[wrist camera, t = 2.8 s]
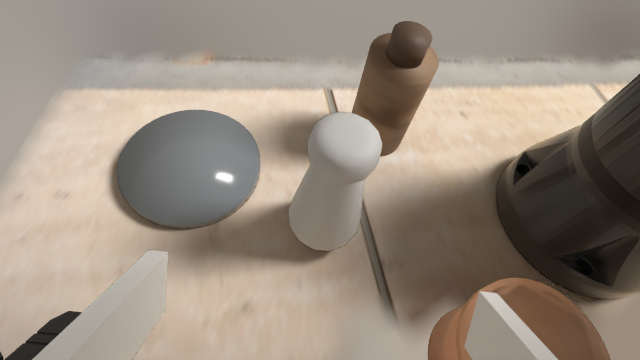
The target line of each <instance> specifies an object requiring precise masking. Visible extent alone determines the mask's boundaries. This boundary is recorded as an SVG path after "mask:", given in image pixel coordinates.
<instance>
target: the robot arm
mask: <svg viewBox="0 0 640 360" xmlns="http://www.w3.org/2000/svg"><path fill="white" fill-rule="evenodd" d="M497 206H498V211H499V215H500V218H501V221H502V223H503V225H504V228H505V230H506V232H507V234H508V235H509V237H510V239H511V240H512V242H513V243H514V245H515V246H516V247H517V249H518V250H519V251H520V252H521V254H522V255H523V256H524V257H525V258H526V259H527V260H528V261H529V262H530V263H531V264H532V265H533V266H534V267H535V268H536V269H537V270H539V271H540V272H541V273H542V274H544V275H545V276H546V277H548V278H549V279H551V280H552V281H554V282H555V283H557V284H559V285H561V286H563V287H564V288H567V289H569V290H571V291H573V292H576V293H578V294H581V295H584V296H588V297H593V298H599V299H619V298H624V297H628V296H631V295H634V294H638V293H640V74H639V75H638V76H637V77H636V78H635V79H634V80H632V81H631V82H630V83H629V84H628V85H627V86H626V87H624V88H623V89H622V90H621V91H620V92H619V93H617V94H616V95H615V96H614V97H613V98H612V99H610V100H609V101H608V102H607V103H606V104H605V105H603V106H602V107H601V108H600V109H599V110H598V111H597V112H596V113H595V114H594V115H592V116H591V117H590V118H589V119H588V120H587V121H585V122H584V123H583V124H582V125H580V126H577V127H575V128H573V129H570V130H568V131H566V132H563V133H561V134H559V135H556V136H554V137H552V138H549V139H547V140H545V141H542V142H540V143H538V144H535V145H533V146H531V147H529V148H528V149H526V150H525V151H523V152H522V153H521V154H519V155H518V156H517V157H516V158H515V159H514V160H513V161H512V162H511V163H510V164H509V165H508V166H507V167H506V168H505V170H504V171H503V173H502V174H501V177H500V179H499V182H498V186H497ZM167 264H168V252H164V251H156V250H148V251H147V252H146V253H145V254H144V255H143V256H142V257H141V258H140V259H139V260H138V261H137V262H136V263H134V264H133V265H132V266H131V267H130V268H129V269H128V270H127V271H126V272H125V273H124V274H123V275H122V276H121V277H120V278H118V279H117V280H116V281H115V282H114V283H113V284H112V285H111V286H110V287H109V288H108V289H107V290H106V291H105V292H104V293H103V294H101V295H100V296H99V297H98V298H97V299H96V300H95V301H94V302H93V303H92V304H91V305H90V306H89V307H88V308H87V309H85V310H84V311H83V312H73V311H68V312H66V313H64V314H62V315H60V316H58V317H56V318H54V319H52V320H50V321H49V322H48V323H47V324H46V325H44V326H43V327H42V328H41V329H40V330H39V331H37V334H34V335H33V336H31V337H30V338H29V339H28V340H27V341H26V343H25V344H22V345H21V346H20V347H19V348H17V349H16V350H15V351H14V352H13V353H12V354H10V355H9V356H8V357H7V358H6V359H5V360H132V359H133V357H134V356H135V355H136V353H137V352H138V350H139V349H140V347H141V346H142V344H143V343H144V341H145V340H146V339H147V337H148V336H149V334H150V333H151V331H152V330H153V328H154V327H155V325H156V324H157V323H158V321H159V320H160V318H161V317H162V315H163V314H164V312H165V301H166V283H167ZM464 347H465V349H466V350H467V352H468V354H469V355H470V357H471V359H472V360H558V359H557V358H556V357H555V355H554V354H553V353H552V352H551V351H550V350H549V349H548V348H547V347H546V346H545V345H544V344H543V343H542V341H541V340H540V339H539V338H538V337H537V336H536V335H535V334H534V333H533V332H532V331H531V330H530V329H529V327H528V326H527V325H526V324H525V323H524V322H523V321H522V320H521V319H520V318H519V317H518V316H517V314H516V313H515V312H514V311H513V310H512V309H511V308H510V307H509V306H508V305H507V304H506V303H505V302H504V300H503V299H502V298H501V297H500V296H499V295H498V294H497V293H491V292H483V291H479V294H478V298H477V302H476V305H475V309H474V313H473V316H472V320H471V324H470V328H469V331H468V335H467V339H466V342H465V346H464ZM0 360H3V356H2V354H1V352H0Z"/></svg>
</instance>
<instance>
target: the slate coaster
mask: <svg viewBox="0 0 640 360" xmlns="http://www.w3.org/2000/svg"><path fill="white" fill-rule="evenodd" d="M259 174H260V156H259V150H258V147H257V144H256V142H255V140H254V138H253V137H252V135H251V134H250V132H249V131H248V130H247V129H246V128H245V127H244V126H243V125H241V124H240V123H239V122H237V121H236V120H234V119H232V118H230V117H228V116H226V115H223V114H220V113H217V112H212V111H206V110H185V111H179V112H175V113H171V114H167V115H165V116H162V117H160V118H157V119H155V120H153V121H152V122H150V123H148V124H147V125H145V126H144V127H142V128H141V129H140V130H139V131H138V132H136V133H135V134H134V135H133V136H132V138H131V139H130V140H129V141H128V142H127V144H126V146H125V147H124V149H123V151H122V153H121V155H120V158H119V162H118V168H117V178H118V183H119V187H120V189H121V192H122V194H123V196H124V197H125V199H126V200H127V201H128V203H129V204H130V206H131V207H132V208H133V209H134V210H135V211H136V212H137V213H138V214H139V215H141V216H142V217H143V218H145V219H147V220H149V221H150V222H152V223H155V224H158V225H160V226H164V227H169V228H176V229H191V228H199V227H203V226H207V225H211V224H213V223H216V222H219V221H221V220H223V219H225V218H227V217H228V216H230V215H231V214H233V213H234V212H236V211H237V210H238V209H239V208H240V207H242V206H243V205H244V203H245V202H246V201H247V200H248V199H249V197H250V196H251V195H252V193H253V191H254V189H255V187H256V185H257V182H258V179H259Z"/></svg>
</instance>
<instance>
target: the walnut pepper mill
mask: <svg viewBox="0 0 640 360" xmlns="http://www.w3.org/2000/svg"><path fill="white" fill-rule="evenodd" d="M431 41H432V35H431V33H430V31H429V30H428V29H427V28H426V27H424V26H423V25H421V24H418V23H415V22H411V21H404V22H400V23H398V24H396V25H395V26H394V28H393V31H392V33H387V34H383V35H381V36H379V37H377V38H376V39H375V40H374V41H373V42H372V44H371V46H370V50H369V53H368V57H367V60H366V64H365V67H364V71H363V74H362V78H361V82H360V85H359V89H358V92H357V96H356V100H355V103H354V107H353V110H352V113H353V114H356V115H358V116H361V117H363V118H365V119H367V120H369V121H370V122H371V124H372V125H373V126H374V127H375V128H376V129H377V130H378V132H379V135H380V138H381V141H382V150H381V154H380V156H385V155H388V154H391V153H393V152H394V151H395V150H396V149H397V148H398V146H399V144H400V142H401V140H402V138H403V136H404V134H405V132H406V130H407V128H408V126H409V124H410V122H411V120H412V119H413V117H414V115H415V113H416V111H417V109H418V107H419V105H420V103H421V101H422V99H423V97H424V95H425V93H426V91H427V89H428V87H429V85H430V83H431V81H432V79H433V77H434V75H435V73H436V71H437V69H438V65H439V61H438V57H437V54H436V53H435V51H434V50H433V49H432V47H431V46H430V44H431Z"/></svg>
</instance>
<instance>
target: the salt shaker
mask: <svg viewBox="0 0 640 360" xmlns="http://www.w3.org/2000/svg"><path fill="white" fill-rule="evenodd" d="M381 150H382V141H381V138H380V135H379V132H378V130H377V129H376V128H375V127H374V126H373V125H372V124H371V122H370V121H369V120H367V119H365V118H363V117H361V116H358V115H356V114H353V113H345V112H337V113H333V114H329V115H326V116H324V117H323V118H322V119H320V120H319V121H318V122H316V123H315V125H314V127H313V130H312V132H311V135H310V137H309V140H308V154H309V161H310V163H311V165H310V166H309V168H308V170H307V172H306V174H305V176H304V178H303V180H302V182H301V184H300V186H299V187H298V189H297V191H296V193H295V195H294V197H293V200H292V202H291V205H290V208H289V211H288V212H289V221H290V227H291V229H292V231H293V232H294V234H295V235H296V236H297V238H298V239H299V241H300V242H302V243H304V244H305V245H307V246H309V247H311V248H312V249H316V250H326V251H331V250H334V249H337V248H340V247H342V246H345V245H346V244H347V243H348V242H349V241H350V239H351V238H352V237H353V236H354V235H355V234H356V233H357V230H358V226H359V223H360V219H361V209H362V199H363V189H364V179H365V178H366V177H367V176H368V175H369V174H370V173H371V172H372V171H373V170H375V168H376V166H377V164H378V161H379V157H380V154H381Z"/></svg>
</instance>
